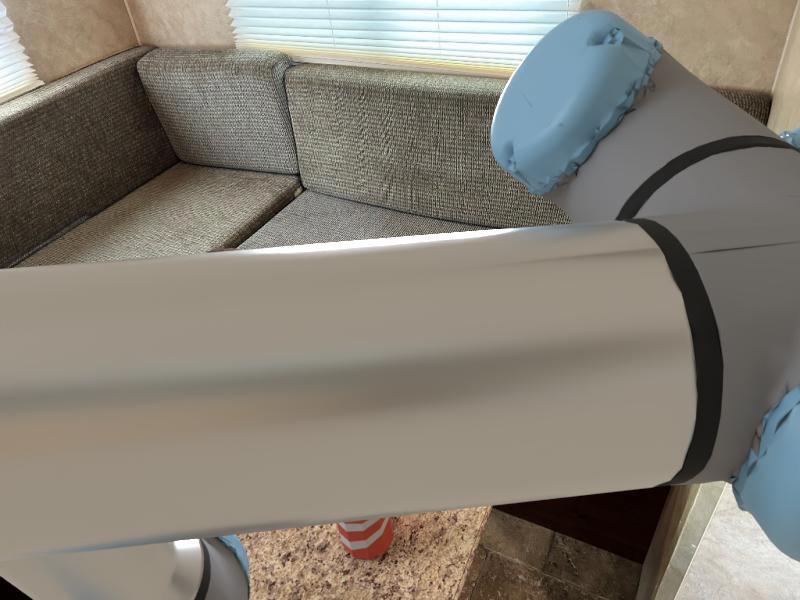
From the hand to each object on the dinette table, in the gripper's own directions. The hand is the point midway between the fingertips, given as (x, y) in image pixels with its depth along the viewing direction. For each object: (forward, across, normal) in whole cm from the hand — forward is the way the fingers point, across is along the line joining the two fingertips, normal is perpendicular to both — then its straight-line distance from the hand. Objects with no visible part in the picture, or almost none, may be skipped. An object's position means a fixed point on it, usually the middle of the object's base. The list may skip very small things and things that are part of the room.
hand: (415, 420), depth 53 cm
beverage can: (+25, 0, -11) cm, 27 cm away
